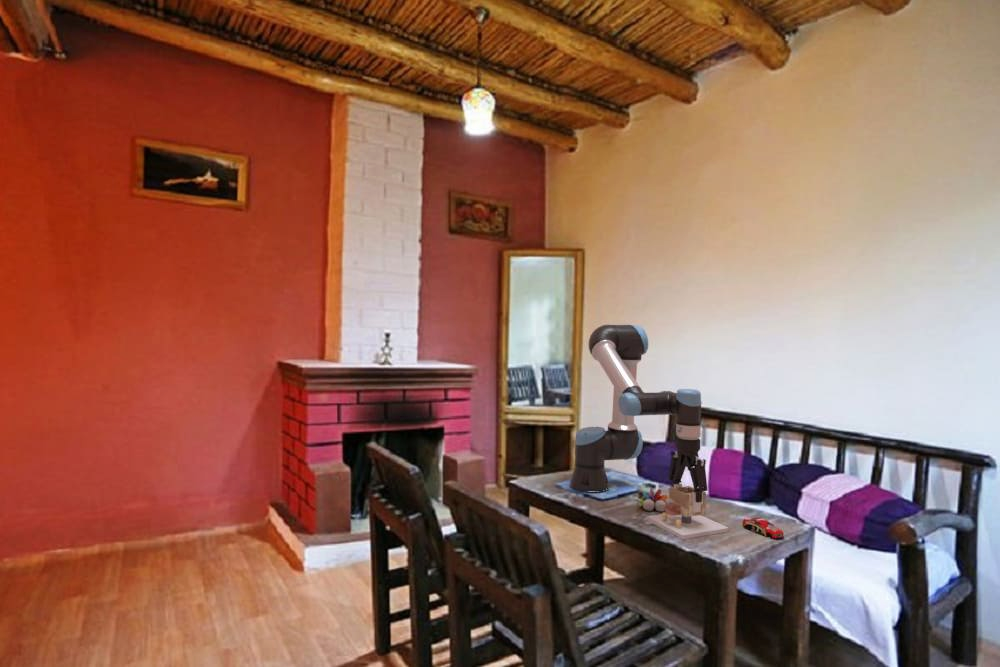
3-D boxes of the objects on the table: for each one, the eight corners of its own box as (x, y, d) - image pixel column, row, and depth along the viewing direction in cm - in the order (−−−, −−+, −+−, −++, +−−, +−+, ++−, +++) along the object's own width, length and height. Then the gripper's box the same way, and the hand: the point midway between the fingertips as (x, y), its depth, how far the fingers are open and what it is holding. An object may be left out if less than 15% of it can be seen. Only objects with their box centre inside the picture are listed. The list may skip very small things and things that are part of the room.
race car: (787, 539, 174) (787, 526, 173) (775, 542, 171) (775, 529, 171) (752, 525, 185) (752, 512, 185) (739, 527, 183) (740, 515, 183)
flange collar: (688, 507, 188) (688, 485, 188) (705, 514, 181) (705, 492, 181) (660, 510, 184) (660, 489, 184) (676, 518, 176) (677, 495, 176)
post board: (646, 519, 188) (646, 492, 188) (689, 513, 195) (689, 487, 195) (683, 539, 171) (683, 509, 171) (728, 531, 178) (729, 502, 178)
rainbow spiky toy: (669, 513, 195) (669, 492, 195) (640, 511, 197) (640, 490, 197) (667, 506, 203) (667, 486, 203) (639, 504, 205) (639, 484, 205)
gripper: (657, 432, 191) (656, 499, 191) (702, 444, 172) (700, 519, 172) (675, 431, 194) (674, 497, 194) (721, 443, 174) (719, 516, 175)
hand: (686, 507), depth 183 cm, fingers closed on flange collar, 8 cm apart
